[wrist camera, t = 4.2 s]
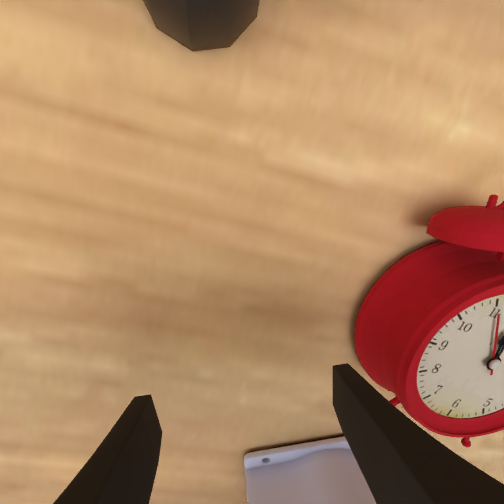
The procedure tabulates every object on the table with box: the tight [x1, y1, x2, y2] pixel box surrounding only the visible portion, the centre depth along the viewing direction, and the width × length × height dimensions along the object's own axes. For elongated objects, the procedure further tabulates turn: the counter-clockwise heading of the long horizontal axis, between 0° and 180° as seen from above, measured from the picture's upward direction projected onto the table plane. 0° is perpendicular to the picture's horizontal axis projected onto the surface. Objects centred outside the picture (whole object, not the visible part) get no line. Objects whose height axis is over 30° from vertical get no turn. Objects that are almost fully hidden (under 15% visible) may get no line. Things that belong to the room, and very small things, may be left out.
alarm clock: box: [354, 195, 504, 447], centre depth 14 cm, size 10×6×15 cm
